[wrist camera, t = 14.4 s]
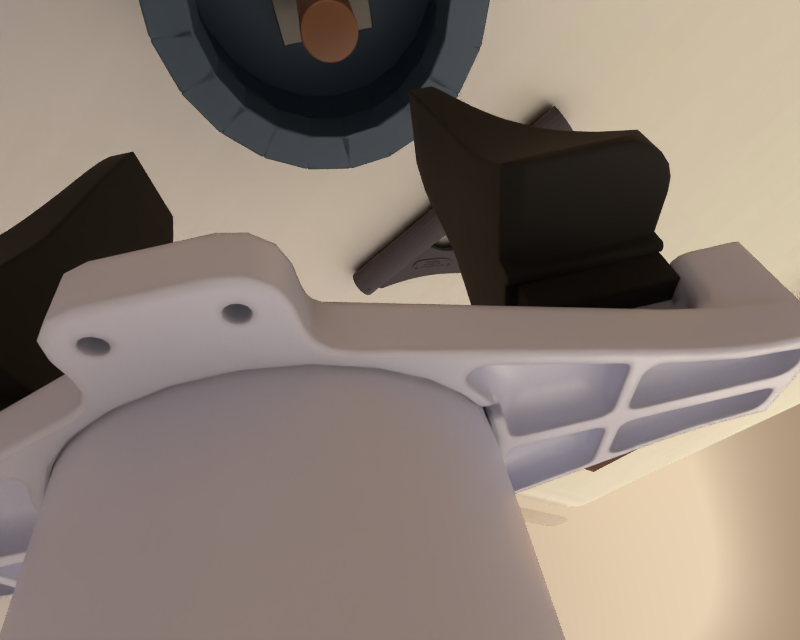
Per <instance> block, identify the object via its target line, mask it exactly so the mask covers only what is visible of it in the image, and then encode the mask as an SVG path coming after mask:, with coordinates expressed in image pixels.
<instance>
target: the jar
mask: <svg viewBox="0 0 800 640" xmlns="http://www.w3.org/2000/svg"><path fill="white" fill-rule="evenodd" d="M369 2H370V8H371V15H372V22H373V28H370V29H366V30H361V31H358V40H357V43H356V46H355V48H354V50H353V51H352V53H351V54H350V55H349V56H348V57H347V58H345V59H343V60H341V61H339V62H335V63H327V62H322V61H320V60H318V59H316V58H315V57H313V56H312V55H311V54H310V53H309V52H308V51H307V49H306V48H305V46H304V44H303V43H298V44H294V45H289V46H284V45H283V41H282V38H281V34H280V31H279V27H278V24H277V20H276V17H275V13H274V10H273V6H272V3H271V0H139V3H140V6H141V10H142V14H143V17H144V21H145V24H146V28H147V32H148V35H149V37H150V38H151V42H152V44H153V46H154V48H155V49H156V51H157V53H158V54H159V56H160V58H161V60H162V61H163V63H164V65H165V66H166V68H167V70H168V72H169V73H170V75H171V77H172V78H173V80H174V82H175V83H176V85H177V87H178V89H179V90H180V91H181V92H182V95H183V96H184V97H185V98H186V99H187V100H188V101H189V102H190V103H191V104H192V105H193V106H194V107H195V108H196V109H197V110H198V111H199V112H200V113H201V114H202V115H203V116H204V117H205V118H206V119H207V120H208V121H209V122H210V123H211V124H212V125H213V126H214V127H215V128H216V129H217V130H218V131H219V132H222V133H223V134H224V135H226V136H227V137H229V138H231V139H233V140H234V141H236V142H238V143H240V144H241V145H243V146H245V147H246V148H248V149H250V150H252V151H253V152H255V153H257V154H258V155H260V156H262V157H263V156H264V157H265V158H267V159H271V160H275V161H279V162H283V163H286V164H290V165H294V166H298V167H302V168H308V169H345V168H350V167H351V168H354V167H357V166H360V165H364V164H367V163H370V162H373V161H376V160H379V159H382V158H386V157H389V156H391V154H394V153H395V152H397V151H398V150H400V149H401V148H403V147H404V146H406V145H407V144H409V143H410V142H412V141H413V140H414V136H413V128H412V119H411V111H410V103H409V94H408V91H412V90H416V89H421V88H425V87H430V86H432V87H435V88H437V89H439V90H441V91H443V92H445V93H447V94H449V95H451V96H453V97H455V98H457V96H458V94H459V92H460V90H461V88H462V86H463V84H464V82H465V80H466V78H467V75H468V73H469V71H470V69H471V67H472V65H473V63H474V61H475V59H476V56H477V54H478V52H479V50H480V47H481V45H482V39H483V34H484V29H485V23H486V18H487V13H488V7H489V2H490V0H369Z"/></svg>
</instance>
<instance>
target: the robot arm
mask: <svg viewBox="0 0 800 640" xmlns="http://www.w3.org/2000/svg"><path fill="white" fill-rule="evenodd" d="M408 94H409V103H410V111H411V119H412V128H413V136H414V144H415V152H416V161H417V165H418V169H419V172H420V175H421V179H422V182H423V185H424V188H425V191H426V193H427V195H428V198H429V200H430V202H431V204H432V206H433V208H434V210H435V212H436V215H437V217H438V219H439V221H440V223H441V225H442V227H443V229H444V231H445V233H446V236H447V238H448V240H449V242H450V244H451V246H452V249H453V251H454V254H455V256H456V259H457V262H458V265H459V268H460V271H461V274H462V277H463V280H464V283H465V287H466V290H467V293H468V296H469V299H470V303H471V305H440V304H395V303H350V302H321V301H318V300H315V299H312V298H311V297H309V296H308V295H307V294H306V293H305V291H304V289H303V288H302V286H301V284H300V282H299V279H298V277H297V275H296V272H295V270H294V267H293V265H292V263H291V262H290V261H289V259H288V258H287V257H286V256H285V255H284V253H283V252H282V251H281V250H280V249H279V248H278V246H277V245H276V244H274V243H271V242H269V241H266V240H264V239H262V238H259V237H257V236H254V235H252V234H250V233H214V234H209V235H205V236H200V237H196V238H191V239H187V240H182V241H178V242H173V216H172V214H171V213H170V211H169V209H168V208H167V206H166V205H165V203H164V201H163V200H162V198H161V196H160V195H159V193H158V191H157V190H156V188H155V186H154V185H153V183H152V182H151V180H150V178H149V177H148V175H147V173H146V172H145V170H144V168H143V167H142V165H141V163H140V162H139V160H138V159H137V157H136V155H135V154H134V152H129V153H125V154H120V155H116V156H111V157H108V158H106V159H104V160H103V161H101V162H99V163H98V164H96V165H95V166H93V167H92V168H91V169H89V170H88V171H87V172H85V173H84V174H83V175H81V176H80V177H79V178H78V179H76V180H75V181H74V182H73V183H71V184H70V185H69V186H68V187H66V188H65V189H64V190H63V191H61V192H60V193H59V194H58V195H56V196H55V197H54V198H52V199H51V200H50V201H48V202H47V203H46V204H44V205H43V206H42V207H40V208H39V209H38V210H36V211H35V212H34V213H32V214H31V215H30V216H28V217H27V218H26V219H24V220H23V221H21V222H20V223H18V224H17V225H15V226H14V227H12V228H11V229H9V230H8V231H6V232H4V233H3V234H1V235H0V599H2V598H11V597H12V599H11V602H10V605H9V608H8V611H7V615H6V617H5V621H4V624H3V627H2V630H1V633H0V640H565V637H564V635H563V632H562V629H561V626H560V623H559V620H558V617H557V615H556V611H555V609H554V606H553V603H552V600H551V597H550V595H549V591H548V588H547V585H546V583H545V580H544V577H543V574H542V571H541V568H540V565H539V562H538V559H537V557H536V554H535V551H534V548H533V545H532V542H531V540H530V536H529V534H528V531H527V528H526V525H525V522H524V519H523V516H522V513H521V510H520V507H519V505H518V502H517V499H516V496H515V494H517V493H519V492H522V491H525V490H527V489H530V488H533V487H536V486H538V485H541V484H544V483H546V482H549V481H552V480H555V479H557V478H560V477H563V476H565V475H568V474H571V473H574V472H576V471H579V470H582V469H585V468H587V467H590V466H593V465H595V464H598V463H601V462H604V461H606V460H609V459H612V458H614V457H617V456H620V455H623V454H625V453H628V452H631V451H633V450H636V449H639V448H642V447H644V446H647V445H650V444H653V443H656V442H659V441H662V440H665V439H668V438H671V437H673V436H676V435H679V434H682V433H686V432H689V431H692V430H696V429H699V428H702V427H706V426H709V425H712V424H715V423H719V422H723V421H727V420H731V419H734V418H738V417H742V416H746V415H750V414H754V413H758V412H762V411H765V410H766V409H767V408H768V407H769V406H770V405H771V404H772V402H773V401H774V400H775V399H776V398H777V397H778V396H779V394H780V393H781V392H782V391H783V390H784V389H785V388H786V387H787V385H788V384H789V383H790V382H791V381H792V380H793V379H794V377H795V376H796V375H797V374H798V373H799V372H800V301H799V300H798V299H797V298H796V297H795V296H794V295H793V294H792V293H791V292H790V291H789V290H788V289H786V288H785V287H784V286H783V285H782V284H781V283H780V282H779V281H778V280H777V279H776V278H775V277H774V276H773V275H772V274H771V273H770V272H769V271H768V270H767V269H766V268H765V267H764V266H763V265H762V264H761V263H760V262H759V261H758V260H757V259H756V258H755V257H753V256H752V255H751V254H750V253H749V252H748V251H747V250H746V249H745V248H744V247H743V246H742V245H741V244H740V243H739V242H731V243H727V244H723V245H718V246H714V247H709V248H705V249H701V250H696V251H692V252H688V253H685V254H683V255H680V256H678V257H677V258H676V259H674V260H673V261H672V262H671V263H670V265H669V264H668V262H667V261H666V260H665V259H664V258H663V256H662V255H661V254H660V253H659V251H662V249H663V241H662V240H661V239H660V238H659V237H658V235H657V234H656V233H655V232H654V231H655V228H656V225H657V222H658V219H659V216H660V213H661V210H662V207H663V204H664V201H665V198H666V195H667V192H668V187H669V182H670V169H669V163H668V161H667V160H666V158H665V157H664V155H663V153H662V152H661V151H660V150H659V149H658V148H657V147H656V146H655V145H654V144H652V143H651V142H650V141H649V140H648V139H647V138H646V137H645V136H644V135H643V134H642V133H641V132H640V131H638V130H624V131H605V132H582V131H563V130H554V129H547V128H540V127H534V126H529V125H524V124H520V123H517V122H513V121H509V120H505V119H502V118H499V117H496V116H494V115H491V114H489V113H486V112H484V111H481V110H479V109H477V108H475V107H472V106H470V105H468V104H466V103H464V102H462V101H460V100H458V99H456V98H455V97H453V96H451V95H449V94H447V93H445V92H443V91H441V90H439V89H437V88H435V87H432V86H430V87H425V88H421V89H416V90H412V91H408Z"/></svg>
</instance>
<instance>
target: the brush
mask: <svg viewBox="0 0 800 640" xmlns="http://www.w3.org/2000/svg"><path fill="white" fill-rule="evenodd" d="M271 3H272V6H273V10H274V13H275V17H276V20H277V24H278V27H279V31H280V34H281V38H282V41H283V45H284V46H289V45H294V44H298V43H303V44H304V46H305V48H306V49H307V51H308V52H309V53H310V54H311V55H312V56H313V57H315V58H316V59H318V60H320V61H322V62H327V63H335V62H339V61H341V60H343V59H345V58H347V57H348V56H349V55H350V54H351V53H352V51H353V50H354V48H355V46H356V43H357V40H358V31H361V30H366V29H370V28H373V22H372V15H371V8H370V2H369V0H271Z"/></svg>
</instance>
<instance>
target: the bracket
mask: <svg viewBox="0 0 800 640" xmlns="http://www.w3.org/2000/svg"><path fill="white" fill-rule="evenodd" d="M531 126H534V127H540V128H547V129H554V130H563V131H573V130H572V128H571V126H570V125H569V124H568V122H567V121H566V119H565V118H564V117H563V115H562V114H561V113H560V111H559V110H558V109H557V108H556V107H555V106H554V107H553V108H552V109H550V110H549V111H548V112H547V113H546V114H544V115H543V116H542V117H541V118H540V119H538V120H537V121H536V122H535V123H534V124H532V125H531ZM445 235H446V233H445V231H444V229H443V227H442V225H441V223H440V221H439V219H438V217H437V215H436V212H435V210H434V208H432V209H431V210H430V211H429V212H427V213H426V214H425V215H424V216H423V217H422V218H420V219H419V220H418V221H417V222H416V223H414V224H413V225H412V226H411V227H410V228H408V229H407V230H406V231H405V232H404V233H402V234H401V235H400V236H399V237H398V238H396V239H395V240H394V241H393V242H392V243H390V244H389V245H388V246H387V247H386V248H385V249H383V250H382V251H381V252H380V253H379V254H377V255H376V256H375V257H374V258H373V259H371V260H370V261H369V262H368V263H367V264H365V265H364V266H363V267H362V268H361V269H359V270H358V271H357V272H356V273H355V274H354V275H353V280H354V282H355V284H356V286H357V287H358V288H359V289H360V291H362V292H363V293H364V294H367V295H370V294H371V293H373V292H374V291H375V290H376V289H378V288H384V287H386V286H389V285H392V284H395V283H398V282H401V281H405V280H408V279H412V278H416V277H421V276H427V275H433V274H444V273H461V271H460V268H459V265H458V262H457V259H456V256H455V254H454V251H453V249H452V247H451V248H440V247H436V246H434V245H433V244H434V243H436V242H437V241H438V240H439V239H441V238H442V237H443V236H445Z"/></svg>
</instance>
